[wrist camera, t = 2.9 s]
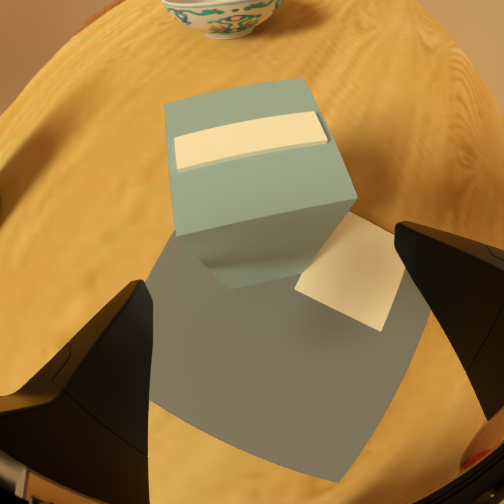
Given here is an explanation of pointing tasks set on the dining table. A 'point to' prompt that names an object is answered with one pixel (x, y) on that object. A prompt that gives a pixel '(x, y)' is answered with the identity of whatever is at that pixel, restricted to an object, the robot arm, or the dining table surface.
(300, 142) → the block
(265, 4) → the chinaware
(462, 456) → the dining table surface
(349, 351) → the mat
